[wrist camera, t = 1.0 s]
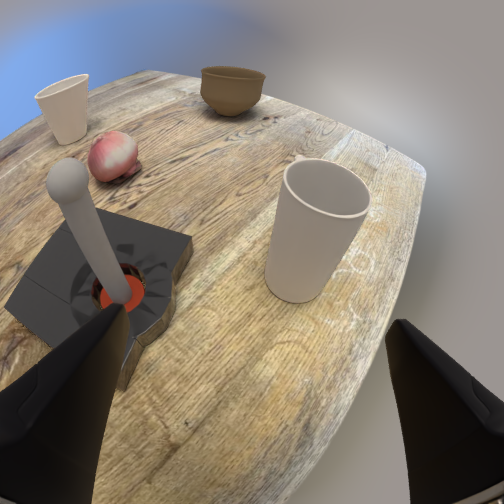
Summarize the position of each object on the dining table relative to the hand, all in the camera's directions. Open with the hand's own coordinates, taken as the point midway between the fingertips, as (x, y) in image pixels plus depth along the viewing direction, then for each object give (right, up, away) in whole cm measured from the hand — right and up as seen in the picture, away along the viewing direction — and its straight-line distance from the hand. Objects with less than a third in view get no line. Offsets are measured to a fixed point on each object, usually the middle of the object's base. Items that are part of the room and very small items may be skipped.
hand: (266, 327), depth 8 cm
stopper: (-13, -2, +16) cm, 21 cm away
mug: (+4, +1, +21) cm, 21 cm away
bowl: (-5, +31, +44) cm, 54 cm away
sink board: (-16, -1, +16) cm, 23 cm away
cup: (-38, +26, +36) cm, 58 cm away
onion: (-20, +14, +28) cm, 37 cm away
